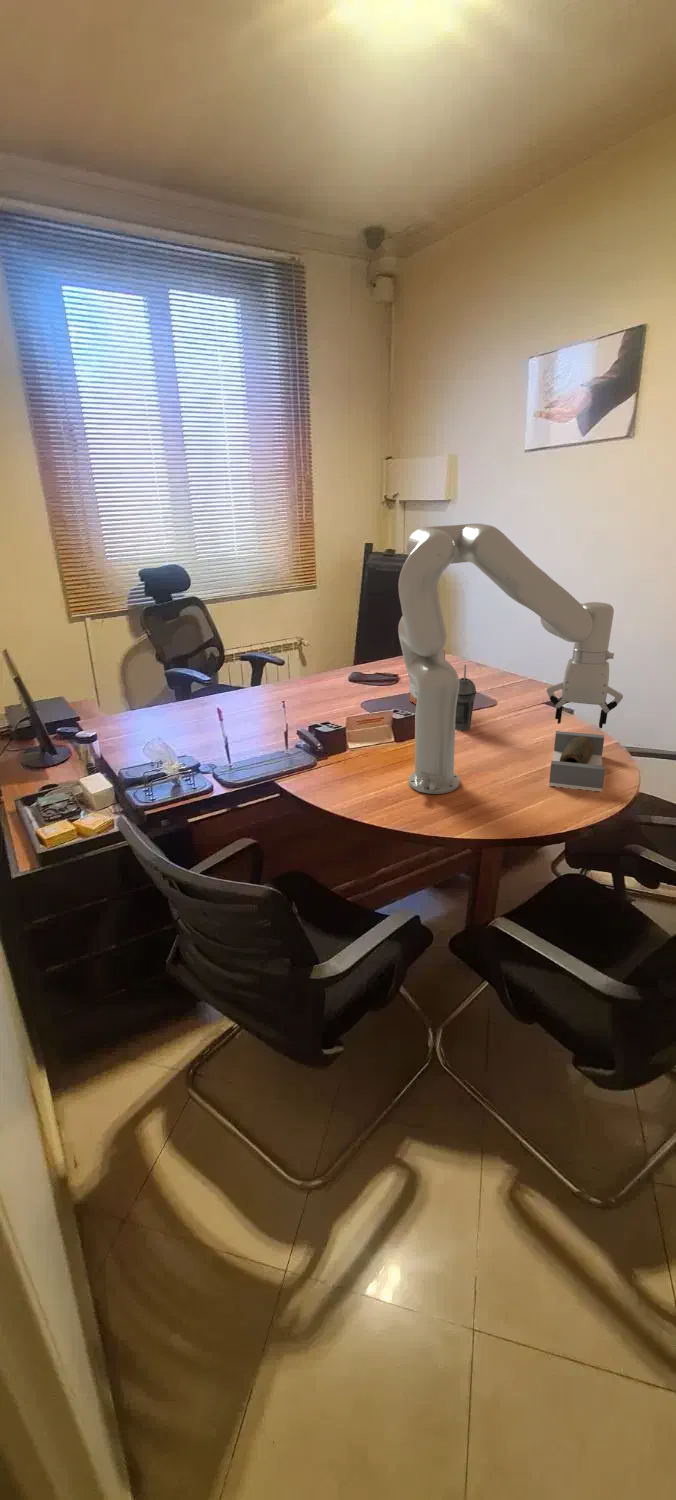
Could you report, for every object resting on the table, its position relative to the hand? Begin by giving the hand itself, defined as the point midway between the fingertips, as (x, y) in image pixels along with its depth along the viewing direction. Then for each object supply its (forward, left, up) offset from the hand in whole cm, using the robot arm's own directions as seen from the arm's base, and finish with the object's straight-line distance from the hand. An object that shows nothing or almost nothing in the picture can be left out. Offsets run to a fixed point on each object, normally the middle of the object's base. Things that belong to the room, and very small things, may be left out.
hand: (579, 724), depth 155 cm
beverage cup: (+22, +32, -13) cm, 41 cm away
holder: (0, -1, -13) cm, 13 cm away
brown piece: (+1, 0, -12) cm, 12 cm away
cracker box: (+38, +47, -13) cm, 62 cm away
